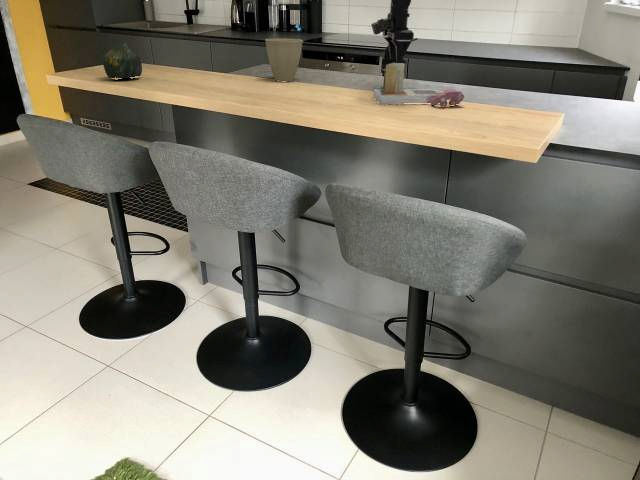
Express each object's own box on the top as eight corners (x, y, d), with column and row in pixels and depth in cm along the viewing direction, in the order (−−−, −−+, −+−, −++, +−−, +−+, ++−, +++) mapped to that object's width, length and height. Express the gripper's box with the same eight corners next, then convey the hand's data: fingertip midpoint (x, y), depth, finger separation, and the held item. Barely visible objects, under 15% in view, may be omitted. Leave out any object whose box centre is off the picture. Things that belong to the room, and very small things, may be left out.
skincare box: (390, 99, 178) (393, 62, 173) (402, 100, 176) (405, 63, 171) (382, 102, 173) (385, 64, 168) (394, 103, 171) (397, 65, 166)
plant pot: (301, 84, 205) (301, 41, 198) (264, 83, 205) (263, 40, 198) (303, 78, 218) (303, 38, 211) (268, 77, 219) (267, 37, 212)
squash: (89, 66, 202) (106, 36, 195) (113, 63, 216) (131, 35, 209) (115, 92, 204) (133, 64, 196) (138, 88, 217) (156, 61, 210)
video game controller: (433, 112, 166) (440, 94, 161) (428, 103, 169) (435, 85, 164) (460, 111, 169) (468, 93, 164) (455, 102, 172) (462, 84, 166)
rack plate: (373, 98, 179) (374, 88, 178) (434, 98, 181) (435, 88, 180) (380, 104, 169) (380, 94, 167) (445, 104, 171) (446, 94, 169)
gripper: (369, 8, 170) (366, 58, 177) (379, 10, 154) (376, 65, 160) (401, 9, 171) (398, 58, 178) (416, 10, 155) (411, 65, 161)
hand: (395, 61), depth 169 cm, fingers open, 9 cm apart
